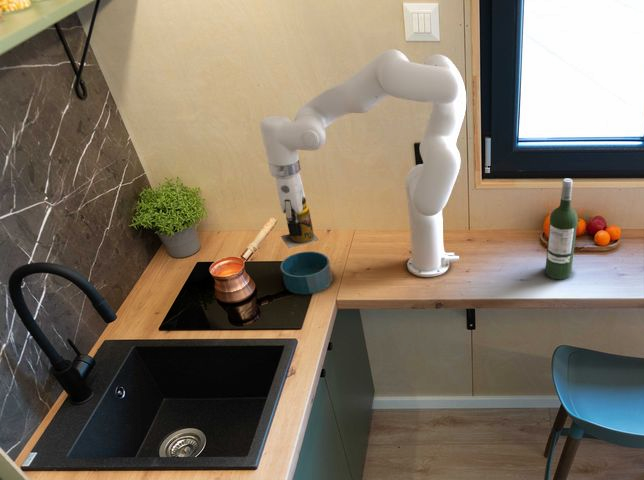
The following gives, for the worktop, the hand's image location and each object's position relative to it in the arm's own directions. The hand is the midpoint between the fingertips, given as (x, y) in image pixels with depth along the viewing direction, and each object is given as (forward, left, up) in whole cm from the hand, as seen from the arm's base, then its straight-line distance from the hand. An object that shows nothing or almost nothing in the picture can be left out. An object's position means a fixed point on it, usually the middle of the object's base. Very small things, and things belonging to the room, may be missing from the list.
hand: (297, 228), depth 164 cm
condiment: (0, 0, -3) cm, 3 cm away
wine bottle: (-74, +2, -17) cm, 76 cm away
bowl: (0, 0, -17) cm, 17 cm away
